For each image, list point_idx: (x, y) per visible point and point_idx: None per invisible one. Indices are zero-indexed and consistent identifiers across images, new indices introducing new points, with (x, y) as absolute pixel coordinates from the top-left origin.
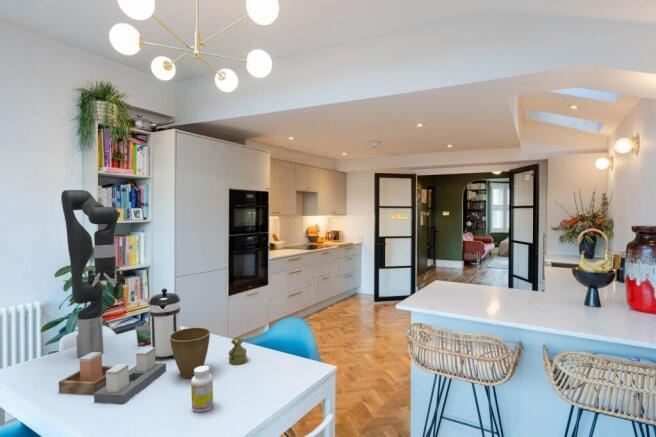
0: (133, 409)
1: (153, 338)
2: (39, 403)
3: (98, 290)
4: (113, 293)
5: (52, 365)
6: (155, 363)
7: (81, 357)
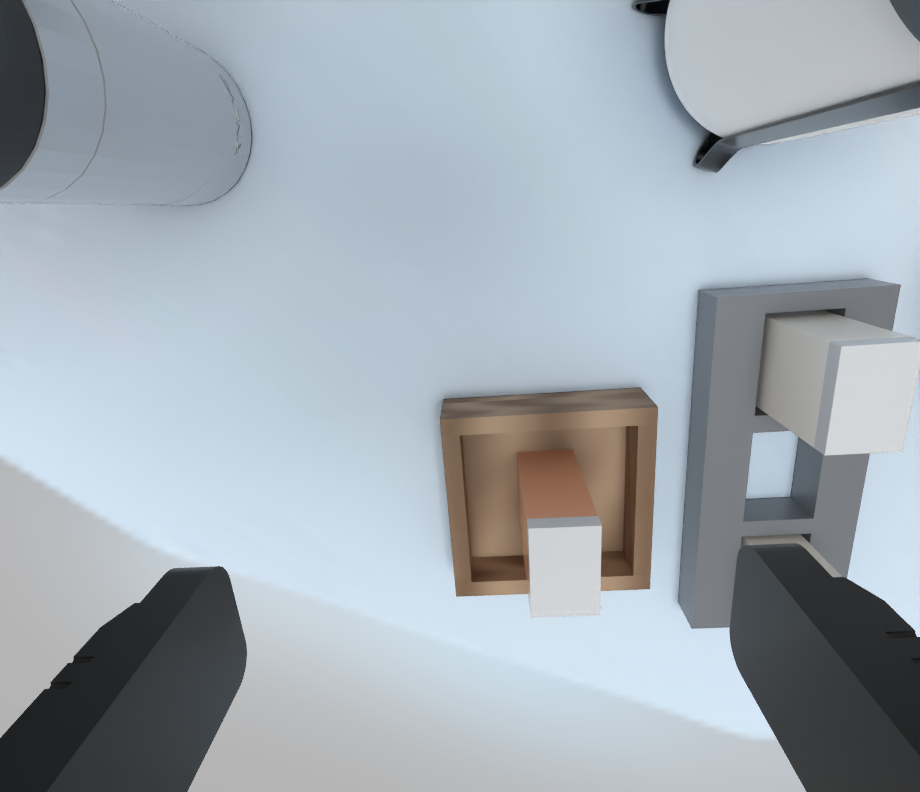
0: None
1: (799, 129)
2: (456, 633)
3: (167, 672)
4: (767, 706)
5: (109, 323)
6: (843, 317)
7: (531, 605)
